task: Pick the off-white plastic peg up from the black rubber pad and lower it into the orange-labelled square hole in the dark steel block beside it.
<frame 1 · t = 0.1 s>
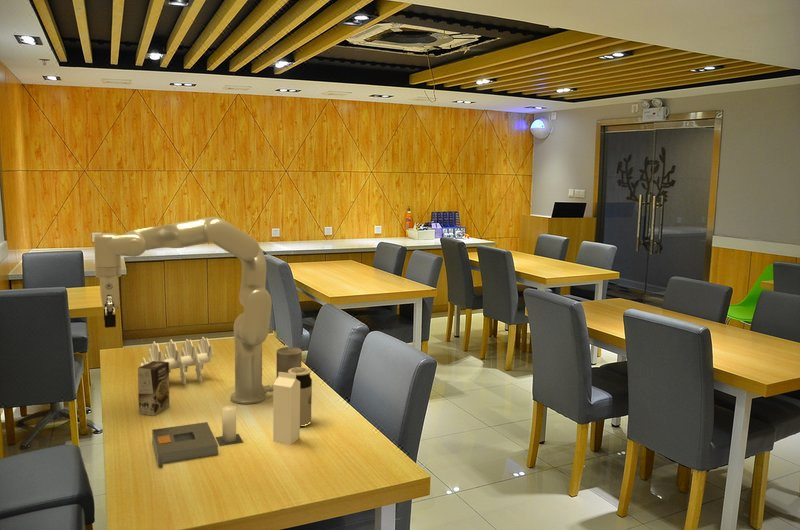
hand: (109, 323, 204), 31 cm above the table, tool pointing down, fingers open, 9 cm apart
peg: (229, 439, 190), point 1 cm above the table, touching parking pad
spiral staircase: (176, 385, 240), on the table
milk: (286, 443, 192), on the table
pillar candle: (288, 384, 245), on the table
coffee box: (154, 410, 214), on the table
travel mug: (299, 423, 207), on the table
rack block: (184, 449, 184), on the table
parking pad: (229, 442, 190), on the table
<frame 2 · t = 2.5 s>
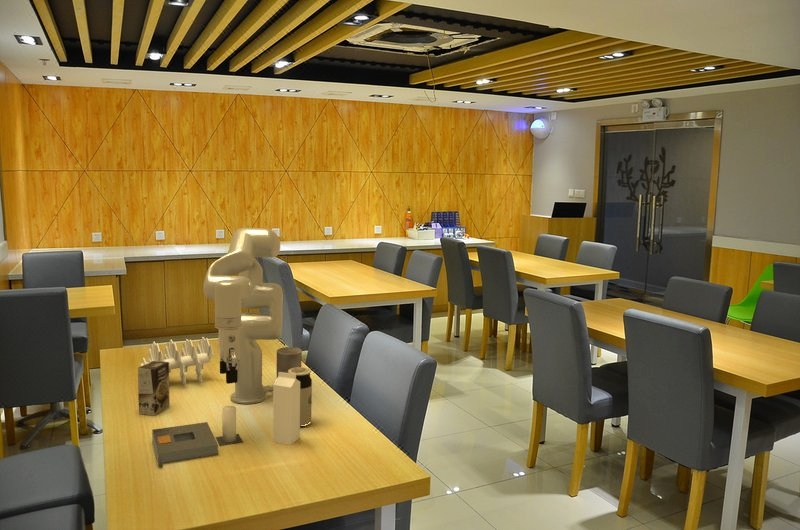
hand: (228, 377, 187), 20 cm above the table, tool pointing down, fingers open, 9 cm apart
nothing on the table moved.
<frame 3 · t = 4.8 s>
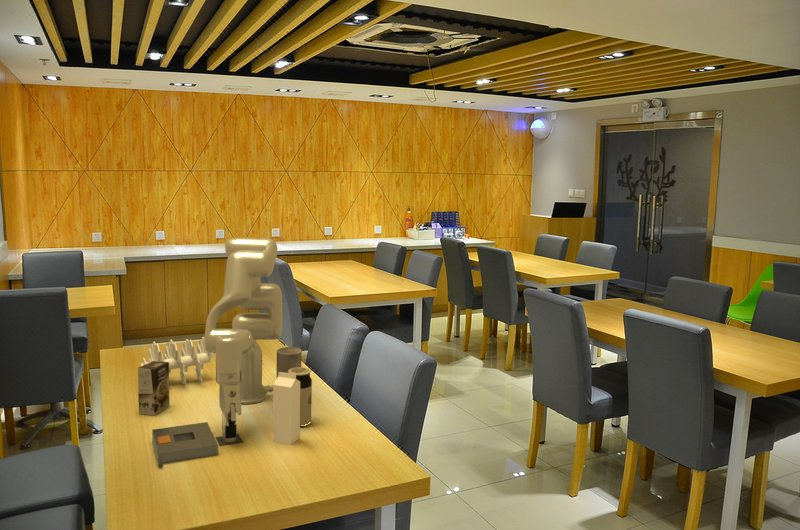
hand: (229, 434, 189), 3 cm above the table, tool pointing down, fingers closed on peg, 4 cm apart
peg: (229, 439, 190), point 1 cm above the table, touching gripper, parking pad
everything else where it was.
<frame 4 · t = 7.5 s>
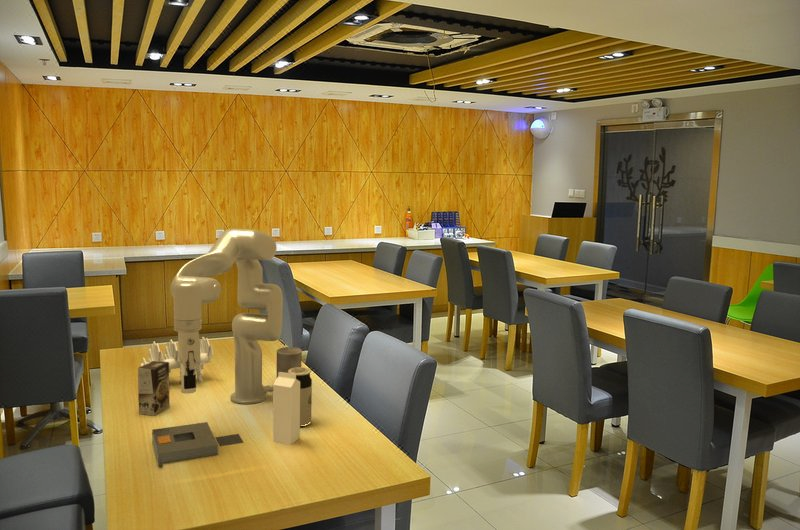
hand: (188, 385, 182), 20 cm above the table, tool pointing down, fingers closed on peg, 4 cm apart
peg: (188, 391, 182), point 18 cm above the table, touching gripper
everything else where it was.
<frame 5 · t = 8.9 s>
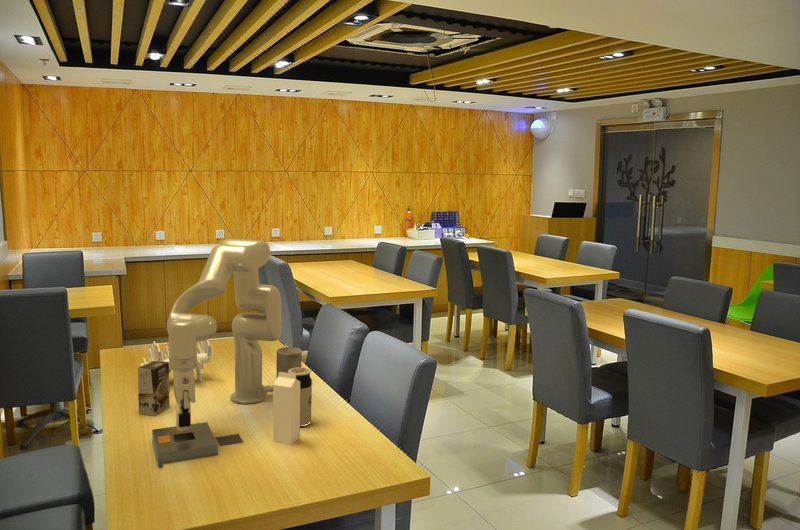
hand: (183, 422, 183), 8 cm above the table, tool pointing down, fingers closed on peg, 4 cm apart
peg: (183, 428, 183), point 7 cm above the table, touching gripper
everything else where it was.
when the fingers open (5 cm above the table, at t = 10.2 s): peg drops 3 cm, resting in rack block.
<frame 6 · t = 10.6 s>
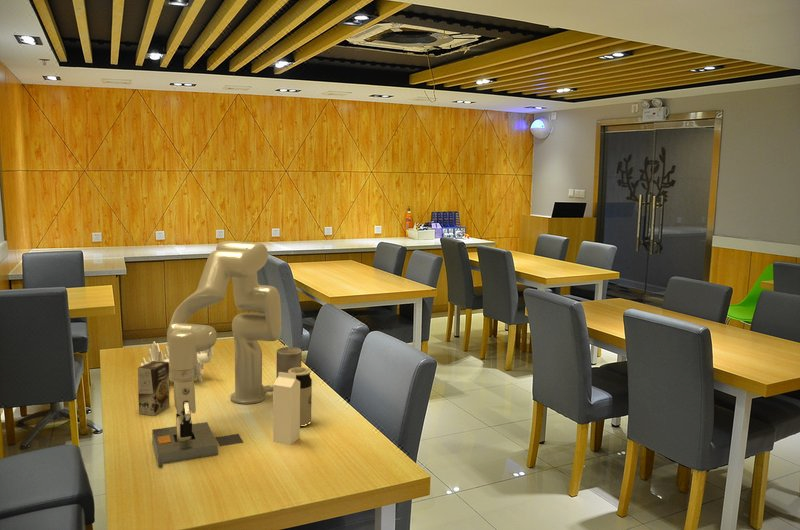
hand: (184, 430, 183), 6 cm above the table, tool pointing down, fingers open, 7 cm apart
peg: (184, 449, 184), resting in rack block
everything else where it was.
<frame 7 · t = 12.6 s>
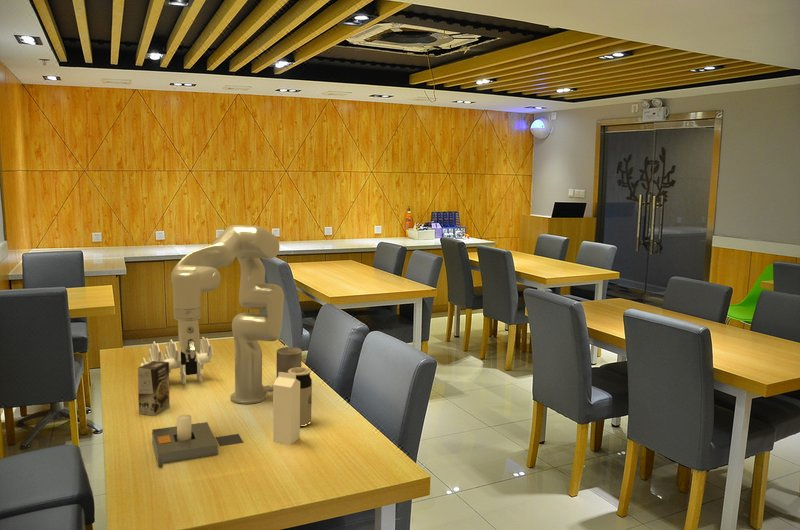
hand: (189, 369, 185), 23 cm above the table, tool pointing down, fingers open, 9 cm apart
nothing on the table moved.
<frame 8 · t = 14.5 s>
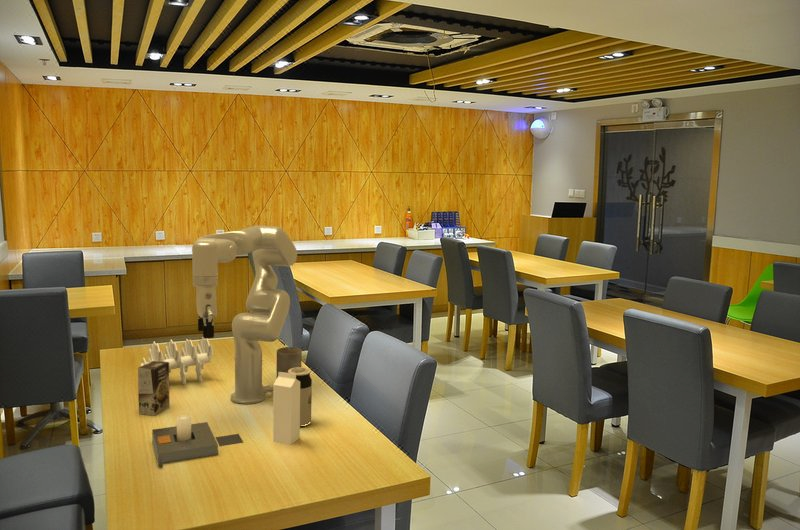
hand: (205, 334, 198), 30 cm above the table, tool pointing down, fingers open, 9 cm apart
nothing on the table moved.
at the end: peg 0.1 cm off-centre on the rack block, point 0.0 cm above the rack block's base; peg tilted 1°; the gripper is holding nothing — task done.
